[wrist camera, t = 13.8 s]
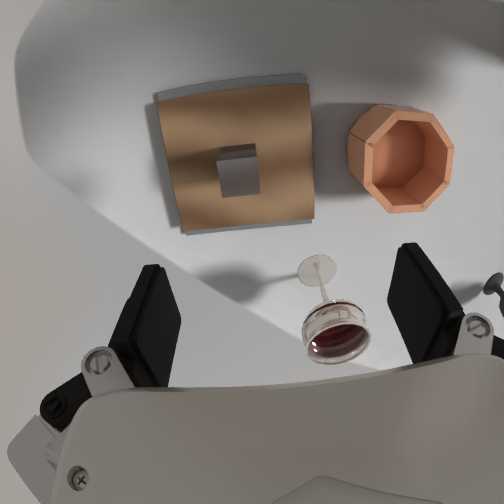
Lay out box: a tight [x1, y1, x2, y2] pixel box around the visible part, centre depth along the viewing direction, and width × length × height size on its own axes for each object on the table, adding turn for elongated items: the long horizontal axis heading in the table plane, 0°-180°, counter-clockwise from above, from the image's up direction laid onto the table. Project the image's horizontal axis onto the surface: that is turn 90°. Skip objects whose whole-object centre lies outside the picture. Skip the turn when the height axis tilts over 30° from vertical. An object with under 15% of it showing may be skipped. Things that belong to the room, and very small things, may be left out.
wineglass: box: [298, 255, 371, 366], centre depth 32 cm, size 7×7×12 cm
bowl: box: [346, 105, 454, 213], centre depth 26 cm, size 10×10×6 cm
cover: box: [157, 84, 314, 232], centre depth 26 cm, size 14×14×6 cm
